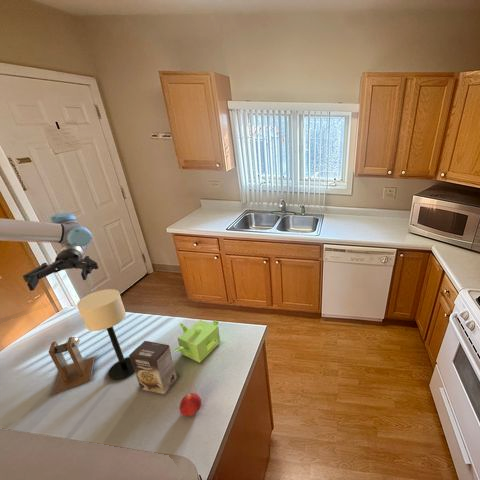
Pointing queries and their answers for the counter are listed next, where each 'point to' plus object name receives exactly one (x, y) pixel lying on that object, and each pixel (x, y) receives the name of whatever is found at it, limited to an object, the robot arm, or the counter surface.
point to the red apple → (190, 404)
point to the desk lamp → (107, 324)
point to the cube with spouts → (198, 340)
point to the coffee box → (153, 366)
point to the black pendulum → (63, 348)
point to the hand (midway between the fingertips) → (57, 281)
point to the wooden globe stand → (71, 367)
